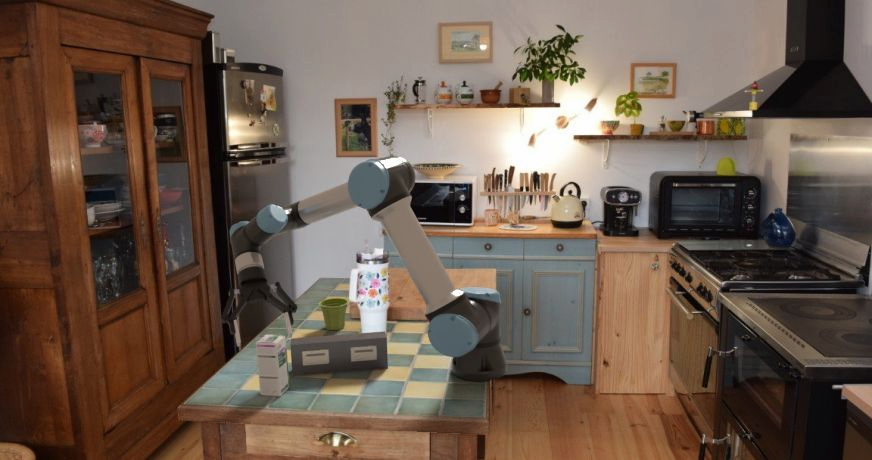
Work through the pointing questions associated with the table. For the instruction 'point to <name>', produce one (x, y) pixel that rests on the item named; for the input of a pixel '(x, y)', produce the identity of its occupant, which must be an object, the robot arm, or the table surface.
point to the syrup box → (272, 365)
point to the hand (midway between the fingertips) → (265, 340)
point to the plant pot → (334, 312)
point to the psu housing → (339, 353)
